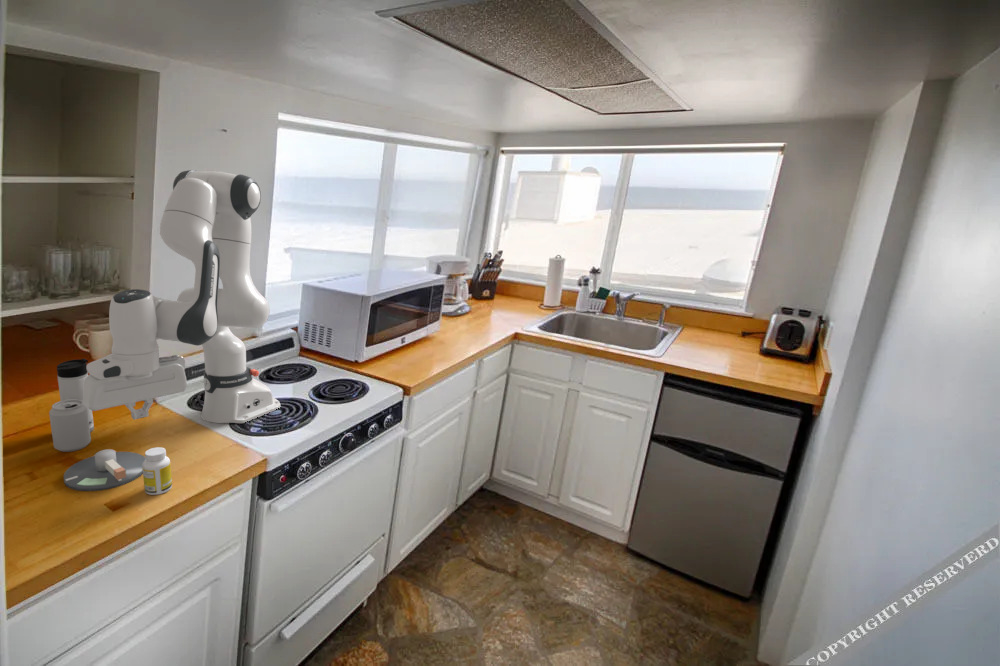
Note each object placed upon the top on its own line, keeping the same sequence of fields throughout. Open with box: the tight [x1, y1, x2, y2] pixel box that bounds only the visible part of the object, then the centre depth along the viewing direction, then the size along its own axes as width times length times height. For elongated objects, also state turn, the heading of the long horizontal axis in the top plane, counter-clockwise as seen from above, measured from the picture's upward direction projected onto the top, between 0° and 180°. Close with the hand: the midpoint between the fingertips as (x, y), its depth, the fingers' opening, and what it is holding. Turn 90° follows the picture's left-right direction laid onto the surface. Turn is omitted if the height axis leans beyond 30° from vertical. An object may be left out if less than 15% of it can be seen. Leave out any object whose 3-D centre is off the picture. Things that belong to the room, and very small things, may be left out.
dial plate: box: [63, 451, 146, 492], centre depth 126 cm, size 16×16×1 cm
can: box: [48, 399, 92, 453], centre depth 134 cm, size 8×8×12 cm
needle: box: [94, 448, 126, 480], centre depth 123 cm, size 11×4×4 cm, turn 55°
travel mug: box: [56, 358, 95, 433], centre depth 141 cm, size 6×7×20 cm
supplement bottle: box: [142, 446, 173, 496], centre depth 121 cm, size 5×5×10 cm
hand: (140, 417), depth 123 cm, fingers closed
